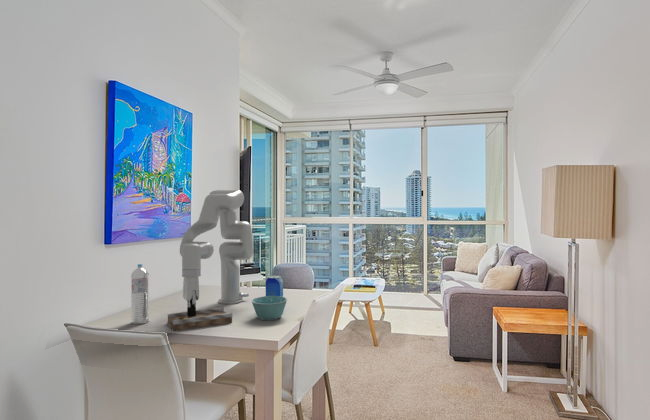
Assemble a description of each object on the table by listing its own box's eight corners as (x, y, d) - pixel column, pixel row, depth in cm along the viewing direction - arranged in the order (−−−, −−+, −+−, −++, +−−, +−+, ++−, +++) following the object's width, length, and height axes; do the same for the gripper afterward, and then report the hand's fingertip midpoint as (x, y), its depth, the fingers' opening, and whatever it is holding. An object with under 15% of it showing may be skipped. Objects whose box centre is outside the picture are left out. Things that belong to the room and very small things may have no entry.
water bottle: (134, 320, 183) (134, 263, 183) (150, 320, 184) (150, 263, 184) (128, 324, 176) (128, 265, 176) (145, 324, 177) (145, 265, 177)
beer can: (286, 308, 205) (286, 275, 205) (277, 312, 197) (277, 278, 197) (271, 306, 208) (271, 274, 208) (262, 310, 201) (262, 277, 201)
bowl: (272, 324, 177) (271, 304, 177) (244, 319, 185) (244, 300, 185) (294, 316, 190) (294, 298, 190) (267, 311, 198) (267, 294, 198)
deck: (223, 316, 190) (223, 307, 190) (232, 322, 179) (232, 313, 179) (167, 323, 178) (167, 313, 178) (173, 330, 167) (173, 320, 167)
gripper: (178, 271, 182) (178, 313, 182) (186, 275, 169) (186, 321, 169) (196, 270, 185) (196, 311, 185) (204, 274, 172) (205, 318, 172)
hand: (191, 316), depth 177 cm, fingers closed
